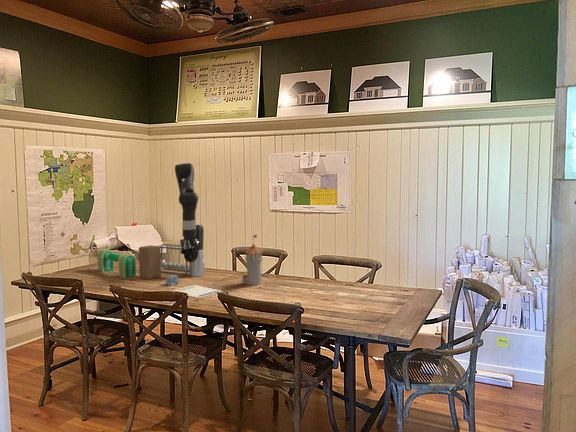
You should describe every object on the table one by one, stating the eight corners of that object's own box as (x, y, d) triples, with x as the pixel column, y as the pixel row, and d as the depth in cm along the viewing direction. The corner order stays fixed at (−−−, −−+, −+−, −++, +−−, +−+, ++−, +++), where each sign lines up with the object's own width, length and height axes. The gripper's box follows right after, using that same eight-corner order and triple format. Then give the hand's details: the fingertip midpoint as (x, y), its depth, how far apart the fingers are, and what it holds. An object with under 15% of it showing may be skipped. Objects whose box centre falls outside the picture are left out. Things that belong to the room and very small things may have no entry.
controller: (200, 260, 271) (199, 243, 270) (185, 264, 260) (185, 246, 259) (194, 259, 273) (194, 242, 272) (179, 263, 262) (179, 245, 261)
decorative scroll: (97, 270, 325) (96, 249, 324) (109, 268, 332) (108, 247, 330) (124, 278, 302) (123, 255, 300) (136, 276, 308) (135, 253, 306)
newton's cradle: (151, 271, 322) (150, 245, 321) (162, 268, 332) (161, 243, 330) (187, 275, 309) (186, 248, 308) (196, 272, 318) (196, 246, 317)
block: (148, 279, 296) (147, 248, 295) (139, 277, 302) (138, 246, 301) (161, 277, 304) (160, 246, 303) (152, 275, 310) (151, 245, 309)
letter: (194, 285, 282) (194, 284, 282) (222, 291, 267) (222, 290, 267) (170, 291, 268) (170, 290, 268) (198, 298, 253) (198, 297, 253)
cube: (172, 283, 287) (172, 275, 287) (178, 284, 284) (178, 276, 284) (166, 284, 283) (166, 276, 283) (171, 286, 280) (171, 277, 280)
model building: (259, 286, 277) (258, 236, 275) (239, 286, 280) (239, 235, 277) (265, 281, 291) (264, 233, 288) (246, 280, 293) (245, 232, 291)
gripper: (203, 228, 263) (203, 258, 265) (185, 226, 272) (186, 255, 274) (192, 229, 258) (193, 260, 259) (175, 228, 266) (176, 257, 268)
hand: (190, 258), depth 266 cm, fingers closed on controller, 4 cm apart
